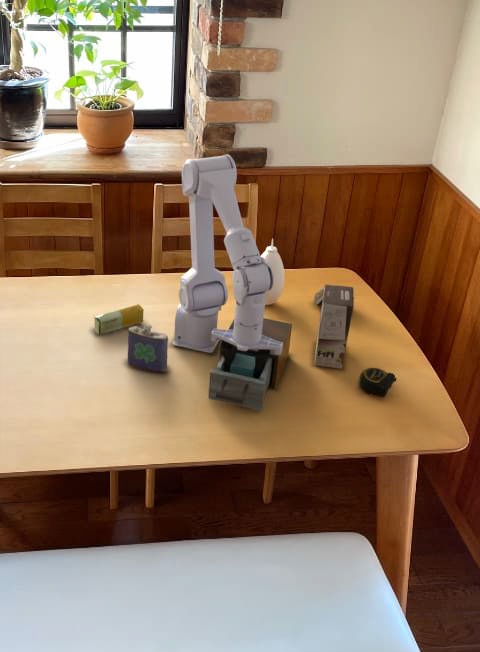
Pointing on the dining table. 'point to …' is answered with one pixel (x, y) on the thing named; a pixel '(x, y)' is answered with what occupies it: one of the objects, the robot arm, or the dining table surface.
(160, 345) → the flask
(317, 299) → the fossilized seashell
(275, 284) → the sauce bottle
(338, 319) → the coffee box
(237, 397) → the drawer
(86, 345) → the dining table surface
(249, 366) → the block
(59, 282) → the dining table surface
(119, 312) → the medication box
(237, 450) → the dining table surface
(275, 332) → the cabinet
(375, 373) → the tape measure
